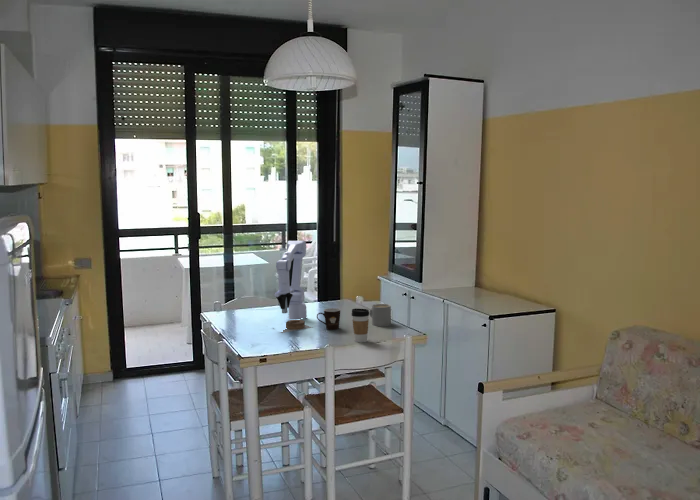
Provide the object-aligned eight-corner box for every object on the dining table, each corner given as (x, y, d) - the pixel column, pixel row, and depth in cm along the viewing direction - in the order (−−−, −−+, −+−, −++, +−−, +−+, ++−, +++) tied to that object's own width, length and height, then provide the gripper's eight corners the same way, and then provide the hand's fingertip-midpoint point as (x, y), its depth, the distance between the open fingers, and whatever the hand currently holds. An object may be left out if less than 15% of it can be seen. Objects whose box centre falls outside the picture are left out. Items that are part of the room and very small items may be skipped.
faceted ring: (298, 324, 306) (298, 319, 306) (307, 327, 299) (307, 322, 298) (283, 327, 301) (283, 321, 301) (292, 330, 294) (291, 324, 293)
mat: (296, 321, 314) (296, 321, 314) (312, 328, 299) (312, 327, 299) (266, 326, 304) (266, 326, 304) (282, 333, 289) (282, 332, 289)
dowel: (286, 311, 304) (285, 297, 304) (288, 312, 302) (287, 297, 301) (280, 312, 303) (280, 297, 302) (283, 313, 300) (282, 298, 299)
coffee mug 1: (343, 327, 299) (342, 308, 298) (337, 331, 291) (337, 312, 290) (322, 326, 303) (322, 307, 301) (316, 330, 294) (315, 310, 293)
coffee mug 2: (394, 324, 303) (394, 306, 302) (378, 327, 298) (378, 308, 297) (380, 320, 314) (380, 302, 313) (365, 322, 309) (364, 304, 308)
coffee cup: (351, 338, 276) (350, 307, 274) (368, 337, 277) (368, 307, 275) (352, 343, 268) (352, 311, 266) (370, 342, 268) (370, 310, 267)
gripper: (285, 280, 309) (286, 305, 310) (269, 284, 296) (270, 310, 298) (296, 280, 305) (297, 306, 307) (280, 285, 293) (281, 311, 294)
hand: (284, 308), depth 302 cm, fingers closed on dowel, 3 cm apart
